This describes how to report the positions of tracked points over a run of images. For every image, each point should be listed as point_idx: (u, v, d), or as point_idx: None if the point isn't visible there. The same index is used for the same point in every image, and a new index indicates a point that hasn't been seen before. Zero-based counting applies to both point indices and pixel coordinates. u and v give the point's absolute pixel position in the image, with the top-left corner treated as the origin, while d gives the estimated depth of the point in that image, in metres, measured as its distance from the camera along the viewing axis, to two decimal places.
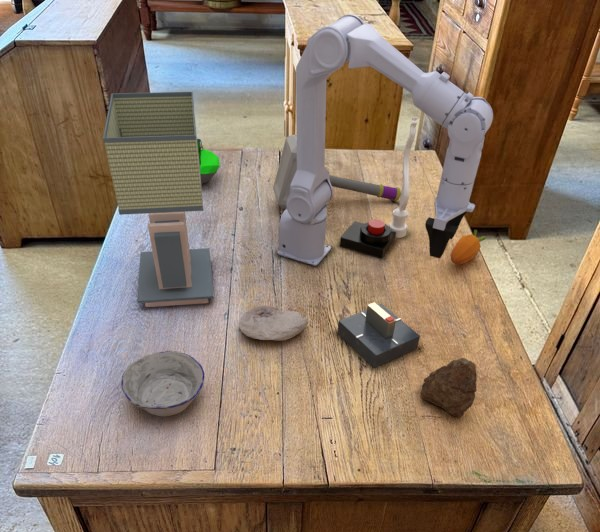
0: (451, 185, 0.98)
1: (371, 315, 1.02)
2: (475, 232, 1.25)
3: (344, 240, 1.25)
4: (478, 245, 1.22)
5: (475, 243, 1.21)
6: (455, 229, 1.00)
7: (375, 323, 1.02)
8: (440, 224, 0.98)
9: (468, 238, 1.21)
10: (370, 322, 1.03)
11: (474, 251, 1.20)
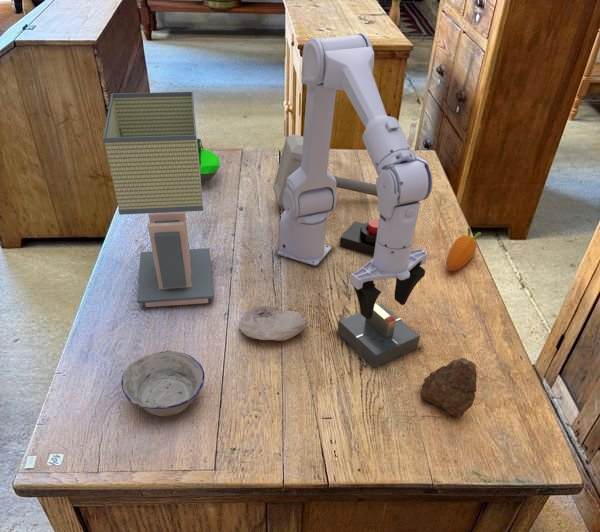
0: (379, 245, 0.89)
1: None
2: (469, 230, 1.25)
3: (344, 240, 1.25)
4: (473, 244, 1.22)
5: (469, 244, 1.21)
6: (375, 292, 0.91)
7: (375, 323, 1.02)
8: (355, 282, 0.91)
9: (461, 241, 1.21)
10: (370, 322, 1.03)
11: (470, 252, 1.20)
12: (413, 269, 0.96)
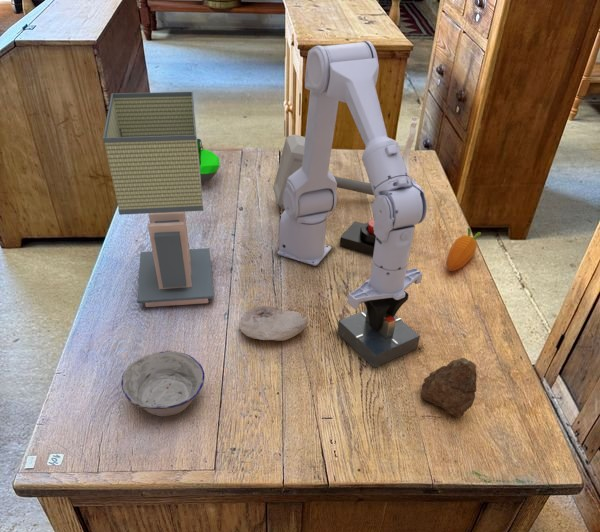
0: (376, 266, 0.92)
1: None
2: (469, 230, 1.25)
3: (344, 240, 1.25)
4: (473, 244, 1.22)
5: (469, 244, 1.21)
6: (384, 306, 0.95)
7: None
8: (352, 301, 0.93)
9: (461, 241, 1.21)
10: None
11: (470, 252, 1.20)
12: None
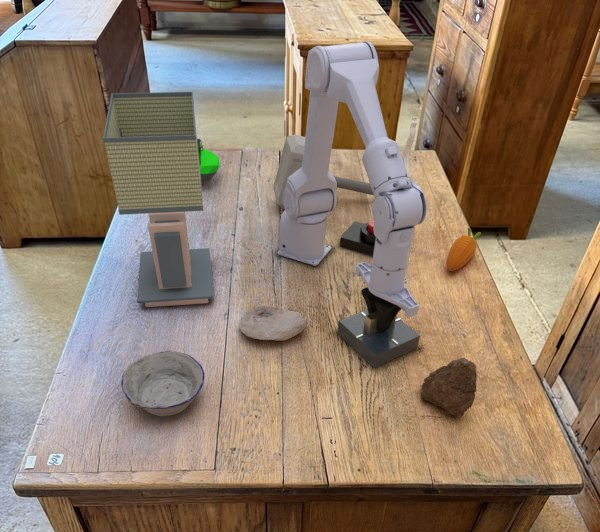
0: (399, 272, 0.91)
1: (376, 324, 1.00)
2: (469, 230, 1.25)
3: (344, 240, 1.25)
4: (473, 244, 1.22)
5: (469, 244, 1.21)
6: None
7: None
8: (415, 310, 0.93)
9: (461, 241, 1.21)
10: (375, 331, 1.01)
11: (470, 252, 1.20)
12: None
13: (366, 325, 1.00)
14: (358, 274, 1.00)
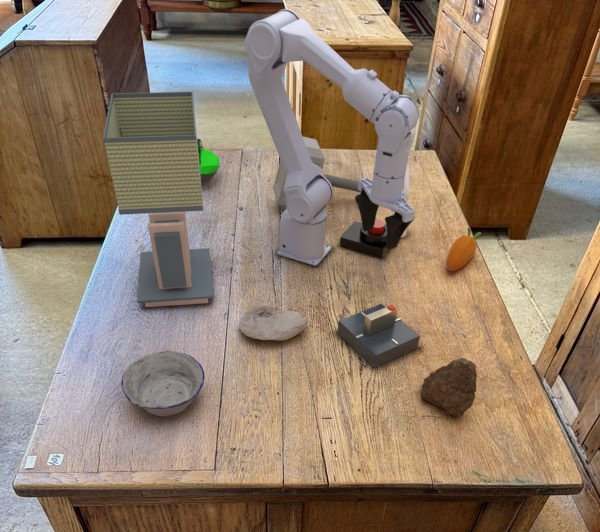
0: (397, 180, 1.03)
1: (376, 324, 1.00)
2: (469, 230, 1.25)
3: (344, 240, 1.25)
4: (473, 244, 1.22)
5: (469, 244, 1.21)
6: None
7: (381, 325, 1.01)
8: (411, 216, 1.04)
9: (461, 241, 1.21)
10: (375, 331, 1.01)
11: (470, 252, 1.20)
12: None
13: (366, 325, 1.00)
14: (361, 189, 1.11)
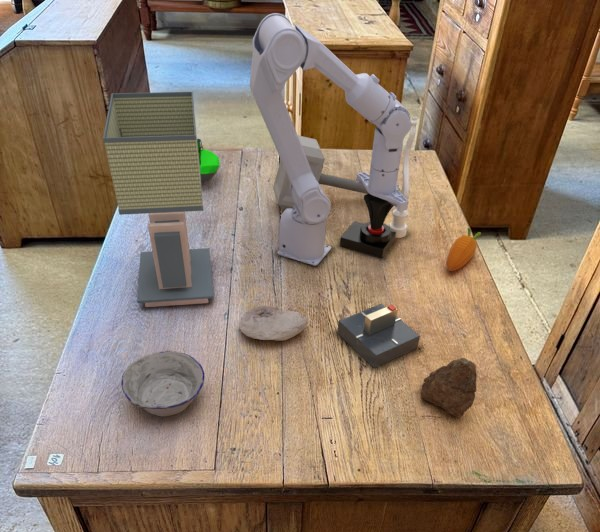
0: (392, 173, 1.13)
1: (376, 324, 1.00)
2: (469, 230, 1.25)
3: (344, 240, 1.25)
4: (473, 244, 1.22)
5: (469, 244, 1.21)
6: None
7: (381, 325, 1.01)
8: (405, 205, 1.14)
9: (461, 241, 1.21)
10: (375, 331, 1.01)
11: (470, 252, 1.20)
12: None
13: (366, 325, 1.00)
14: (359, 182, 1.22)
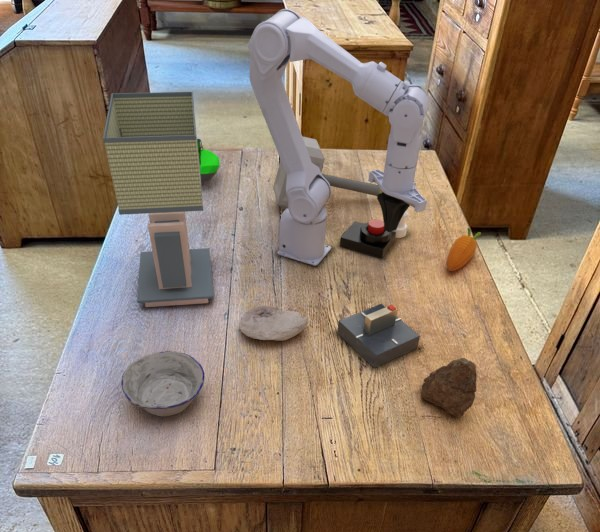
0: (409, 170, 1.03)
1: (376, 324, 1.00)
2: (469, 230, 1.25)
3: (344, 240, 1.25)
4: (473, 244, 1.22)
5: (469, 244, 1.21)
6: None
7: (381, 325, 1.01)
8: (423, 206, 1.04)
9: (461, 241, 1.21)
10: (375, 331, 1.01)
11: (470, 252, 1.20)
12: None
13: (366, 325, 1.00)
14: (371, 180, 1.12)
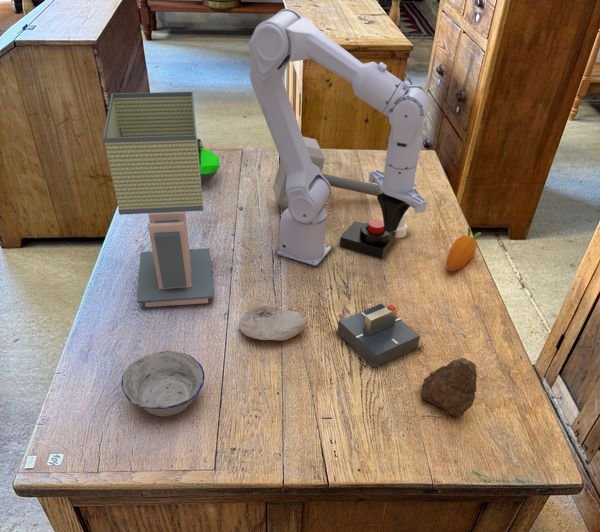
0: (409, 171, 1.03)
1: (376, 324, 1.00)
2: (469, 230, 1.25)
3: (344, 240, 1.25)
4: (473, 244, 1.22)
5: (469, 244, 1.21)
6: None
7: (381, 325, 1.01)
8: (423, 206, 1.04)
9: (461, 241, 1.21)
10: (375, 331, 1.01)
11: (470, 252, 1.20)
12: None
13: (366, 325, 1.00)
14: (371, 181, 1.11)
